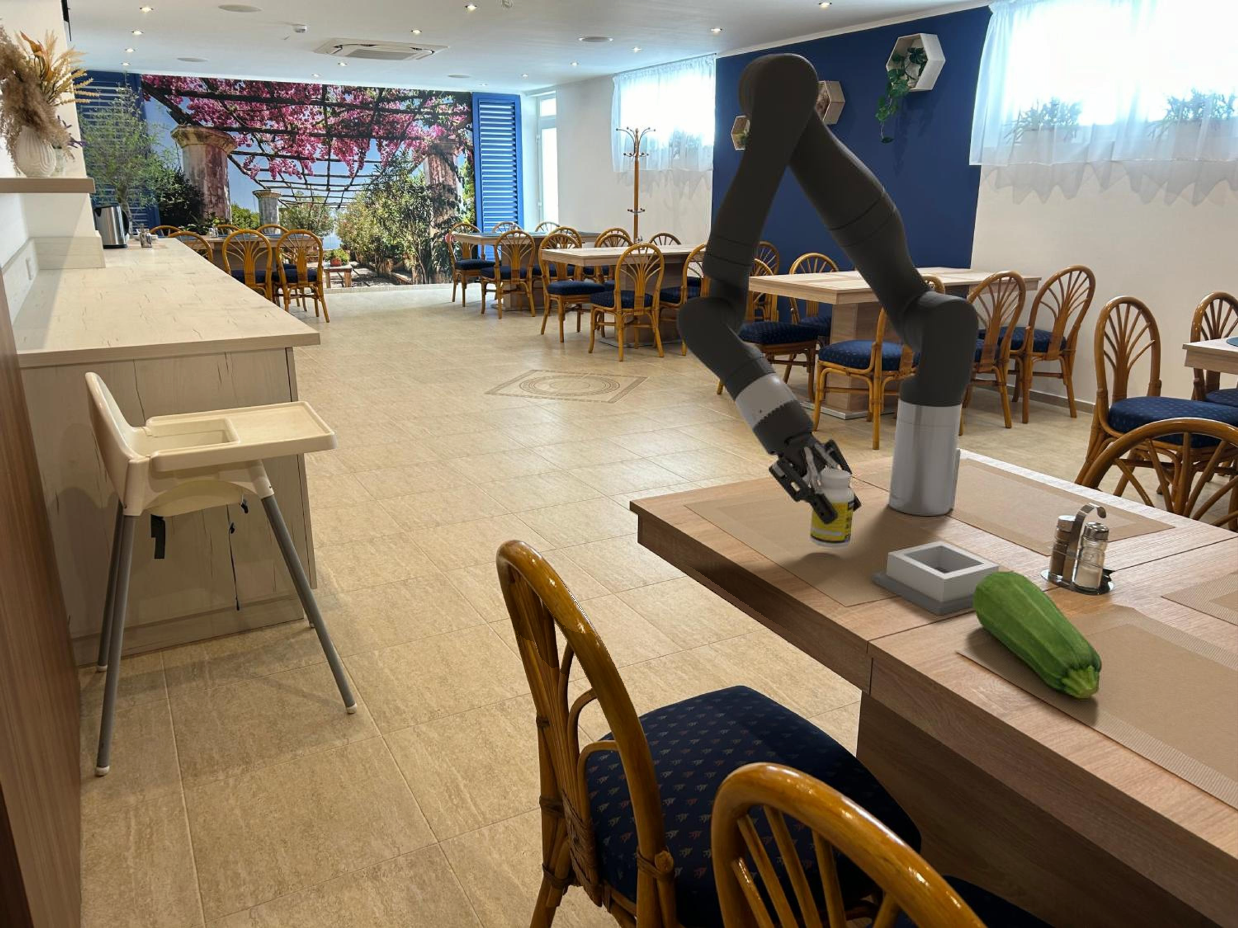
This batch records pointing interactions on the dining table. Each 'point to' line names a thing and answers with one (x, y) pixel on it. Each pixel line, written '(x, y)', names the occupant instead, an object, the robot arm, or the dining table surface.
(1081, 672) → the vegetable
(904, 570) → the board
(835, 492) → the supplement bottle
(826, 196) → the robot arm
